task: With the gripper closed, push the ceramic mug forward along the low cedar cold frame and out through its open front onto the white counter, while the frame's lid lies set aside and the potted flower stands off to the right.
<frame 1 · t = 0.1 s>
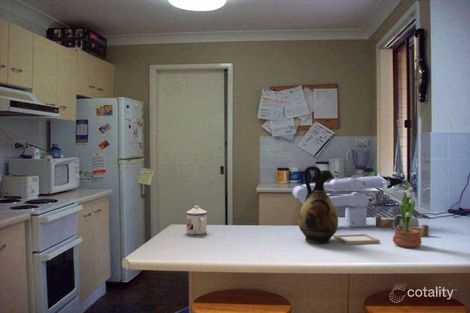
hand: (397, 180, 186), 22 cm above the countertop, tool horizontal, fingers open, 7 cm apart
ceramic mug: (403, 231, 172), on the countertop
teacup with lid: (197, 233, 165), on the countertop
potted flower: (407, 246, 145), on the countertop
cedar frame: (400, 231, 172), on the countertop
ceramic jug: (316, 241, 153), on the countertop
frame lid: (355, 240, 153), on the countertop
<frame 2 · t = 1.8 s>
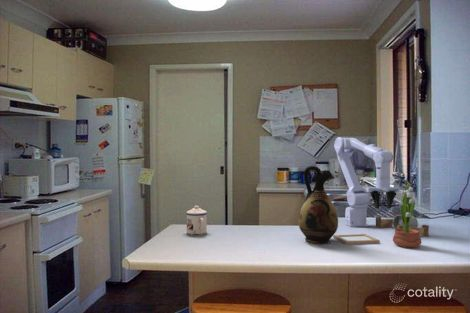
hand: (383, 208, 171), 10 cm above the countertop, tool pointing down, fingers open, 5 cm apart
nothing on the countertop moved.
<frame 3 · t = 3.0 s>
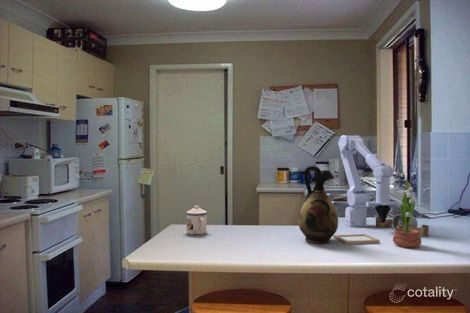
hand: (382, 222, 171), 4 cm above the countertop, tool pointing down, fingers closed
nothing on the countertop moved.
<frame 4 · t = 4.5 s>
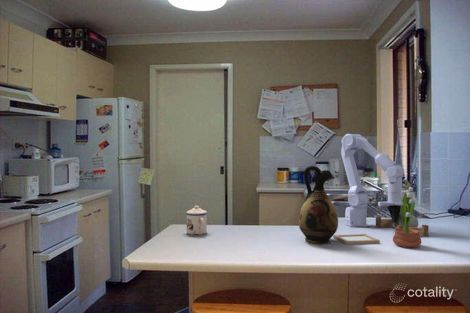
hand: (394, 222, 171), 4 cm above the countertop, tool pointing down, fingers closed
ceramic mug: (403, 230, 173), on the countertop, touching gripper
everything else where it was.
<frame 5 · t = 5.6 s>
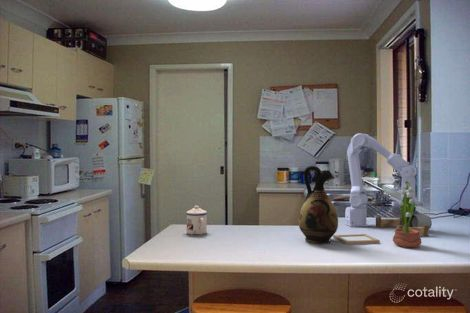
hand: (407, 222, 172), 4 cm above the countertop, tool pointing down, fingers closed
ceramic mug: (416, 230, 174), on the countertop, touching gripper
everything else where it was.
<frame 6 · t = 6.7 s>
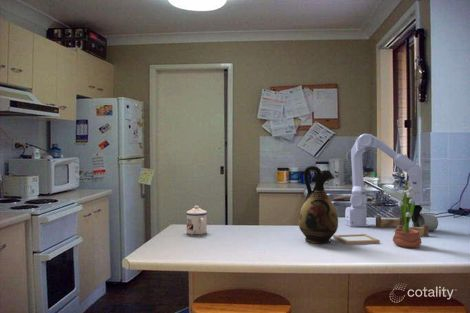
hand: (414, 222, 172), 4 cm above the countertop, tool pointing down, fingers closed
ceramic mug: (422, 230, 174), on the countertop, touching gripper
everything else where it was.
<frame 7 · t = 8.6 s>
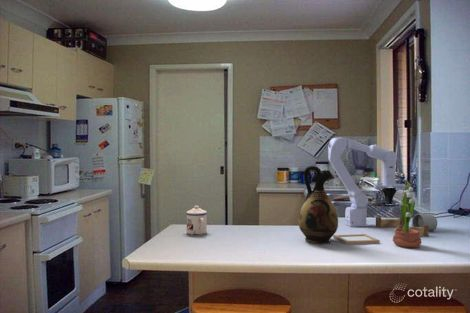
hand: (389, 203, 184), 10 cm above the countertop, tool pointing down, fingers closed
ceramic mug: (422, 230, 174), on the countertop
everything else where it was.
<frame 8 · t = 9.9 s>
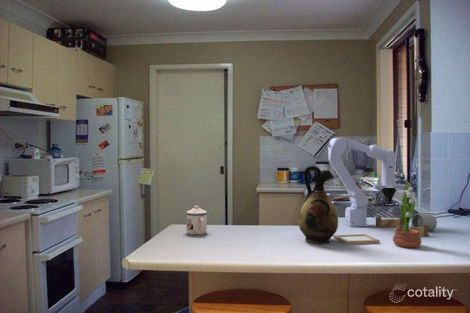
hand: (388, 203, 185), 10 cm above the countertop, tool pointing down, fingers closed
nothing on the countertop moved.
at the end: ceramic mug inside the target area (3.9 cm from its centre), on the countertop; ceramic mug tilted 1°; ceramic mug moved 9.8 cm from its start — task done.
